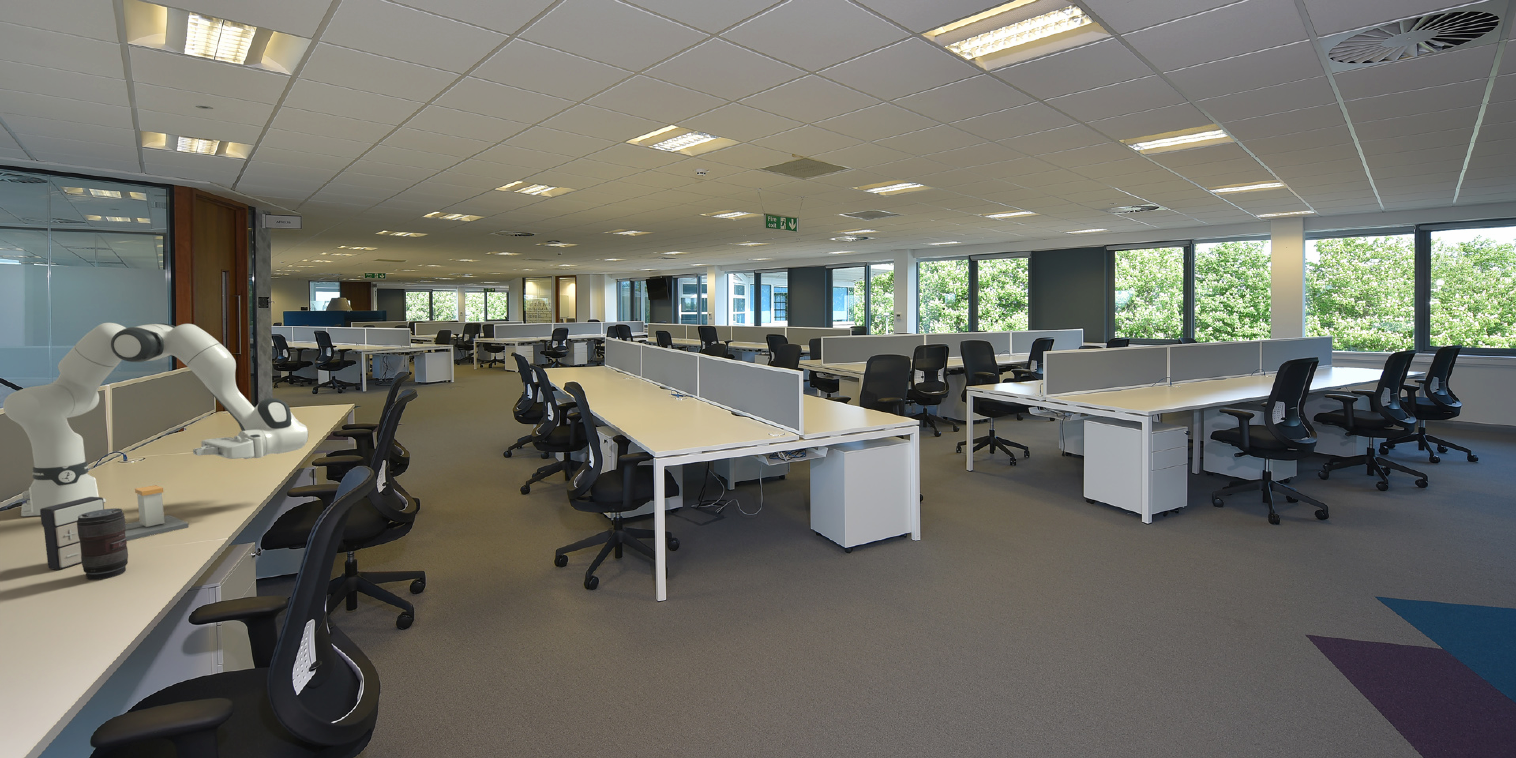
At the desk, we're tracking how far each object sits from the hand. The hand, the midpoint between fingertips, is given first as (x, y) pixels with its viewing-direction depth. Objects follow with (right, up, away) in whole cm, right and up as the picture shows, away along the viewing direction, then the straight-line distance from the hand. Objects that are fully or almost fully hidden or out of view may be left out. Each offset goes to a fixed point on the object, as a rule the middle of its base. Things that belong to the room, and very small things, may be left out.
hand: (194, 452), depth 201 cm
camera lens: (+12, -25, -40) cm, 48 cm away
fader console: (-9, -21, -12) cm, 26 cm away
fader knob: (-6, -19, -7) cm, 22 cm away
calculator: (-2, -24, -32) cm, 40 cm away
